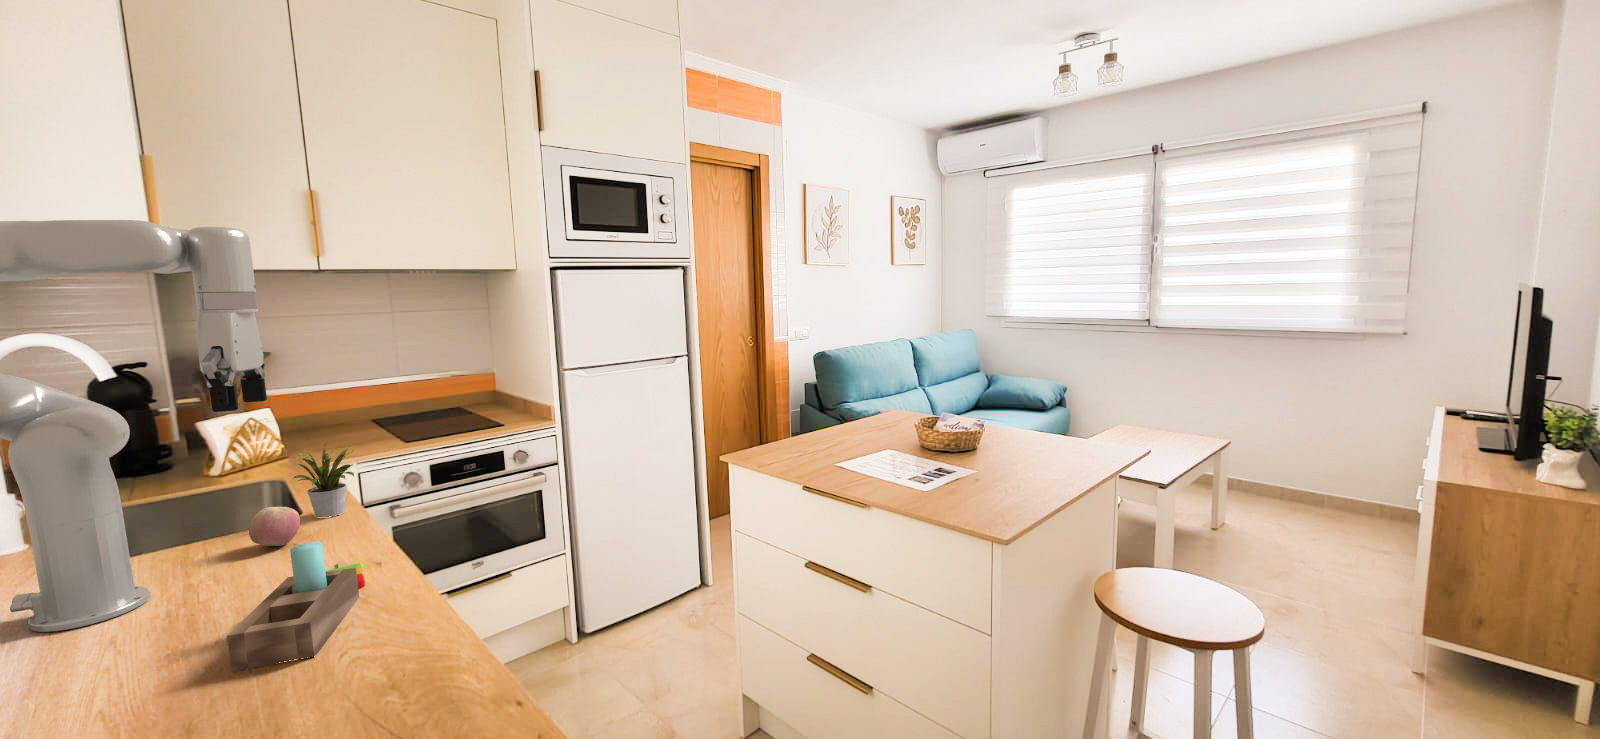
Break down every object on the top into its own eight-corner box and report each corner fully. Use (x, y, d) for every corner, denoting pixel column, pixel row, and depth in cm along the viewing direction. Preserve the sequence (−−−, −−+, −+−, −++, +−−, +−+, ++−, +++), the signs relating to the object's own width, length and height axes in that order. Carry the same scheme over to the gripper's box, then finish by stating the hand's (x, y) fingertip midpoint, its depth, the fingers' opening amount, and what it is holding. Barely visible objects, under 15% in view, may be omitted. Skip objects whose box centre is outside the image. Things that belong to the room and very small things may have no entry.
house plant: (279, 533, 130) (269, 456, 128) (284, 515, 141) (275, 444, 139) (363, 517, 138) (355, 445, 136) (361, 501, 149) (354, 434, 148)
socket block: (231, 671, 81) (226, 635, 81) (292, 607, 98) (288, 577, 98) (314, 657, 84) (310, 622, 84) (359, 597, 101) (355, 567, 101)
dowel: (294, 624, 93) (285, 553, 92) (305, 612, 97) (296, 543, 95) (324, 619, 94) (316, 549, 93) (334, 607, 98) (326, 540, 97)
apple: (293, 551, 121) (288, 511, 120) (243, 557, 118) (238, 516, 117) (309, 536, 128) (304, 498, 127) (263, 542, 126) (258, 503, 125)
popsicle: (324, 601, 101) (323, 589, 101) (322, 570, 113) (321, 560, 113) (365, 590, 105) (364, 579, 104) (359, 562, 116) (358, 552, 116)
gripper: (227, 304, 111) (240, 399, 113) (166, 305, 94) (182, 417, 96) (279, 302, 113) (290, 396, 115) (228, 303, 97) (242, 413, 99)
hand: (241, 406), depth 106 cm, fingers open, 9 cm apart
